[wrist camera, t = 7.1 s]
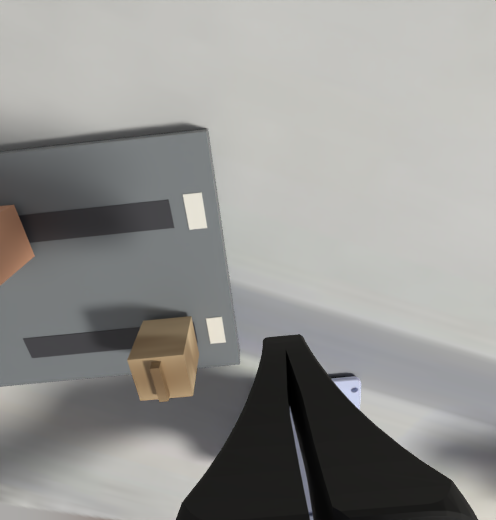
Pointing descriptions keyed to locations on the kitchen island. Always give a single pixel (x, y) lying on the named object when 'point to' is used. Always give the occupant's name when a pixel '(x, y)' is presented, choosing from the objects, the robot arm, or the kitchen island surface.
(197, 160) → the panel
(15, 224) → the terracotta knob
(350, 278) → the kitchen island surface
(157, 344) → the oak knob
